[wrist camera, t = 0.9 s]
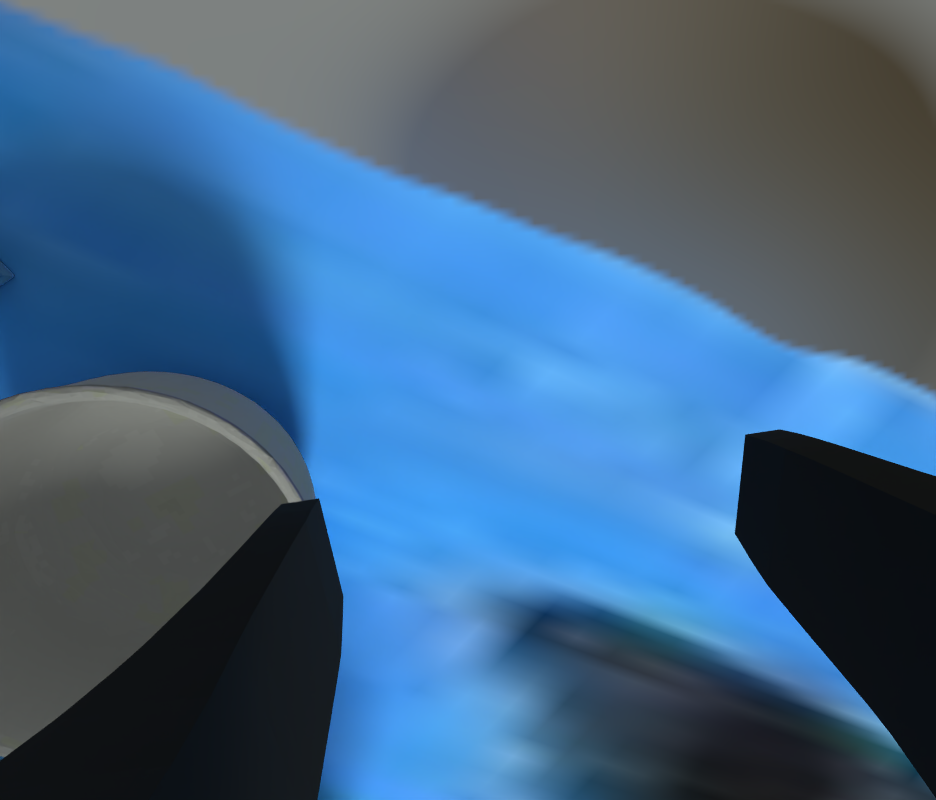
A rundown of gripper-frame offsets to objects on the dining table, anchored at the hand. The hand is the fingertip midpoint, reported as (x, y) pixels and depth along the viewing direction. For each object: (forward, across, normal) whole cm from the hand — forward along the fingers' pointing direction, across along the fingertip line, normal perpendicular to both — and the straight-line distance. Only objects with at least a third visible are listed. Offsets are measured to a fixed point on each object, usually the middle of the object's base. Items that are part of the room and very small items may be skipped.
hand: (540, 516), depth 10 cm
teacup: (+12, +11, +7) cm, 18 cm away
